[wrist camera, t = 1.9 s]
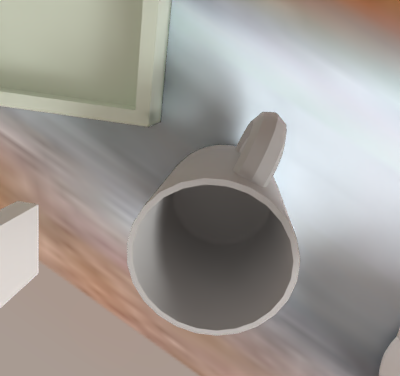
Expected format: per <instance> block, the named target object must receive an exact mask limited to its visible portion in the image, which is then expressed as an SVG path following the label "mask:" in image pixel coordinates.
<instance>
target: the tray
mask: <svg viewBox="0 0 400 376" xmlns="http://www.w3.org/2000/svg"><path fill="white" fill-rule="evenodd" d="M171 2H172V0H0V106H5V107H12V108H18V109H25V110H32V111H39V112H46V113H53V114H60V115H67V116H74V117H81V118H88V119H95V120H102V121H109V122H116V123H123V124H130V125H137V126H144V127H150V126H152V125H155V124H157V123H159V122H161V111H162V100H163V89H164V79H165V68H166V57H167V46H168V35H169V24H170V13H171Z"/></svg>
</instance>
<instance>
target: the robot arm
mask: <svg viewBox="0 0 400 376" xmlns="http://www.w3.org/2000/svg"><path fill="white" fill-rule="evenodd" d="M38 272H39V270H38V204H33V203H27V202H21V201H17V202H15V203H13V204H11V205H9V206H7V207H5V208H3V209H1V210H0V308H1V307H2V306H3V305H4V304H5V303H6V302H8V301H9V300H10V299H11V298H12V297H13V296H14V295H15V294H16V293H17V292H19V291H20V290H21V289H22V288H23V287H24V286H25V285H26V284H27V283H28V282H30V281H31V280H32V279H33V278H34V277H35V276H36V275H37V274H38ZM397 337H398V338H399V340H400V328H399V331H398V334H397Z"/></svg>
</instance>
